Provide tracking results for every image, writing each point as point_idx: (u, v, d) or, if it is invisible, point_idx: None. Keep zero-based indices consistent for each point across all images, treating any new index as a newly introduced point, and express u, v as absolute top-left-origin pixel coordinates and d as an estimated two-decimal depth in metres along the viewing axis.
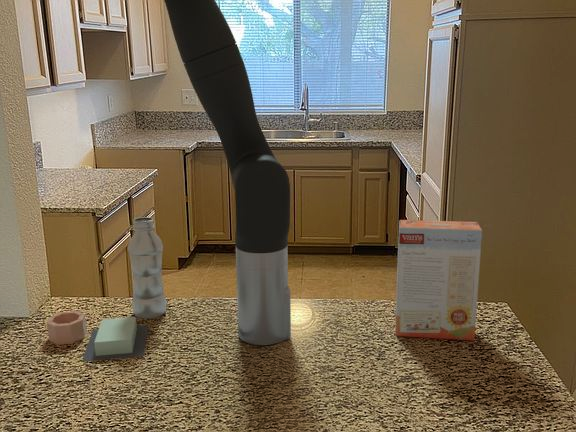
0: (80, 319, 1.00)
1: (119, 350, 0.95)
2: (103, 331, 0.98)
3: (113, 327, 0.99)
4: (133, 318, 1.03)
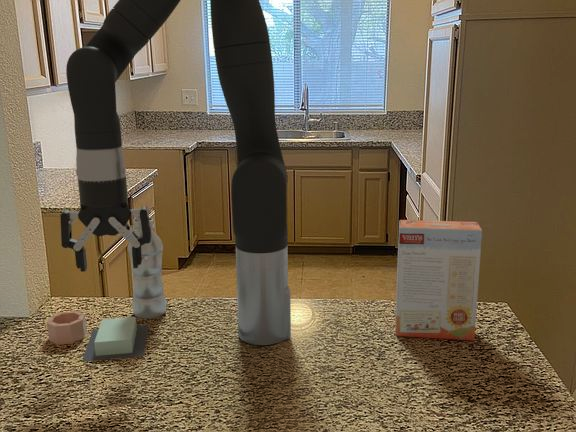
0: (80, 319, 1.00)
1: (119, 350, 0.95)
2: (103, 331, 0.98)
3: (113, 327, 0.99)
4: (133, 318, 1.03)
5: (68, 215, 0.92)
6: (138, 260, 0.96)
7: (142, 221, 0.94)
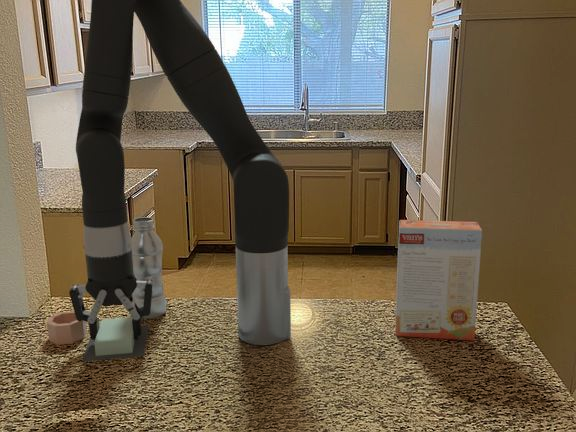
0: None
1: (119, 350, 0.95)
2: (103, 331, 0.98)
3: (113, 327, 0.99)
4: None
5: (76, 290, 0.95)
6: (138, 331, 0.99)
7: (146, 294, 0.97)
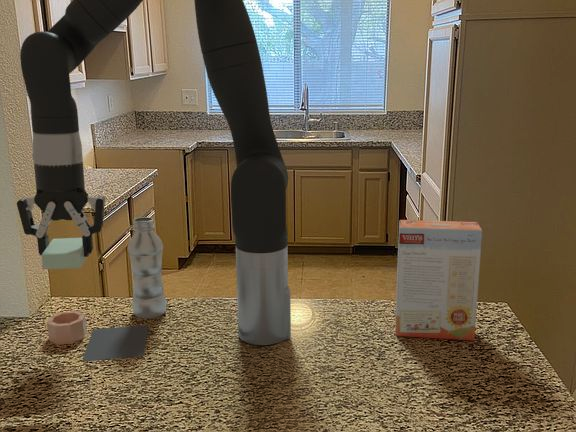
0: (80, 319, 1.00)
1: (67, 264, 0.93)
2: (52, 247, 0.96)
3: (63, 244, 0.97)
4: None
5: (24, 202, 0.93)
6: (88, 249, 0.97)
7: (96, 210, 0.95)
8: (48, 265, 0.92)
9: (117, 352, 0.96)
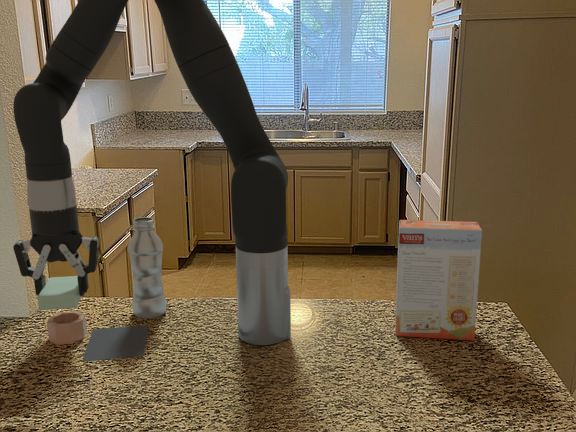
0: (80, 319, 1.00)
1: (63, 305, 0.96)
2: (48, 287, 0.99)
3: (59, 284, 1.00)
4: None
5: (21, 245, 0.96)
6: (84, 288, 1.00)
7: (91, 251, 0.98)
8: (44, 306, 0.95)
9: (117, 352, 0.96)
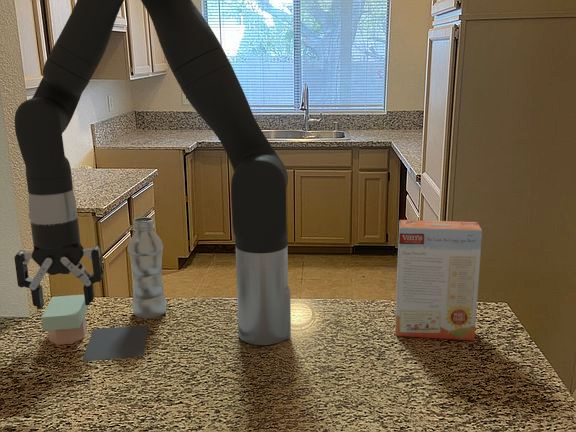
0: None
1: (66, 325, 0.97)
2: (51, 307, 0.99)
3: (62, 304, 1.01)
4: None
5: (22, 256, 0.96)
6: (90, 297, 1.00)
7: (93, 261, 0.98)
8: (48, 327, 0.96)
9: (117, 352, 0.96)
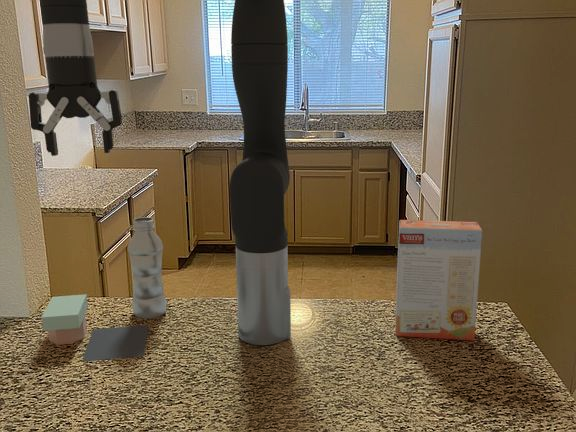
0: None
1: (66, 325, 0.97)
2: (51, 307, 0.99)
3: (62, 304, 1.01)
4: (84, 295, 1.04)
5: (36, 95, 0.91)
6: (109, 144, 0.96)
7: (111, 102, 0.93)
8: (48, 327, 0.96)
9: (117, 352, 0.96)
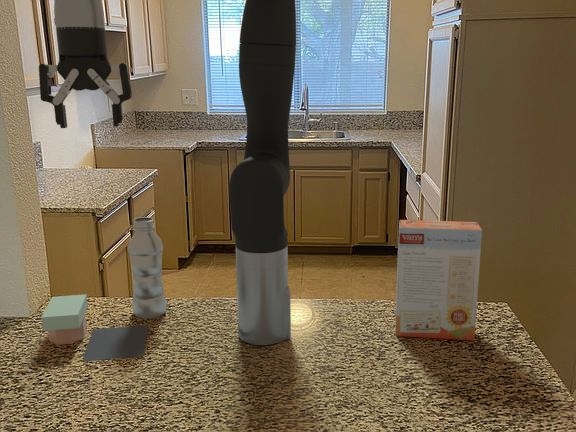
0: None
1: (66, 325, 0.97)
2: (51, 307, 0.99)
3: (62, 304, 1.01)
4: (84, 295, 1.04)
5: (47, 67, 0.91)
6: (118, 118, 0.95)
7: (122, 75, 0.93)
8: (48, 327, 0.96)
9: (117, 352, 0.96)
